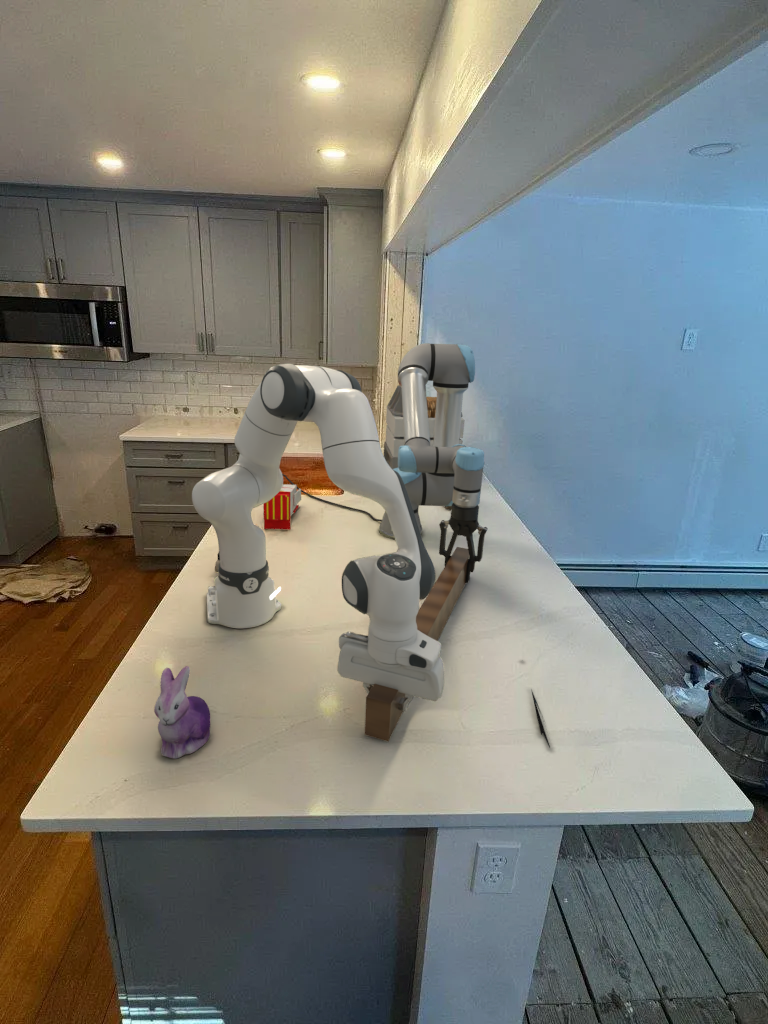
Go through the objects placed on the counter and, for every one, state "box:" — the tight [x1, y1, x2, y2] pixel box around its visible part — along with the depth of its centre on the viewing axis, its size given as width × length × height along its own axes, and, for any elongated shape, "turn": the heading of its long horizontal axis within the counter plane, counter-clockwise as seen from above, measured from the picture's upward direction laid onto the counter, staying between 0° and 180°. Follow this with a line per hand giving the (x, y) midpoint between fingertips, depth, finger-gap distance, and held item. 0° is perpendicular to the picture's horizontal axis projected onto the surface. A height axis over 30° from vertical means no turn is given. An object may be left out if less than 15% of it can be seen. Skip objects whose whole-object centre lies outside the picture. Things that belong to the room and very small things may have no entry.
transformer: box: [383, 384, 465, 469], centre depth 268 cm, size 34×33×41 cm
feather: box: [521, 660, 551, 748], centre depth 116 cm, size 2×28×2 cm
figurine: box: [153, 665, 211, 759], centre depth 99 cm, size 9×10×15 cm
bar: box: [364, 546, 470, 743], centre depth 135 cm, size 75×5×8 cm, turn 161°
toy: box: [263, 483, 302, 531], centre depth 210 cm, size 12×13×30 cm
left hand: (388, 704), depth 108 cm, fingers closed on bar, 5 cm apart
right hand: (458, 579), depth 165 cm, fingers closed on bar, 5 cm apart
